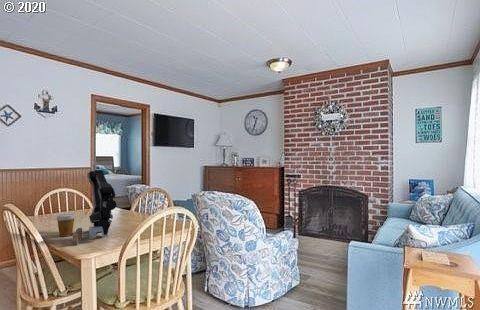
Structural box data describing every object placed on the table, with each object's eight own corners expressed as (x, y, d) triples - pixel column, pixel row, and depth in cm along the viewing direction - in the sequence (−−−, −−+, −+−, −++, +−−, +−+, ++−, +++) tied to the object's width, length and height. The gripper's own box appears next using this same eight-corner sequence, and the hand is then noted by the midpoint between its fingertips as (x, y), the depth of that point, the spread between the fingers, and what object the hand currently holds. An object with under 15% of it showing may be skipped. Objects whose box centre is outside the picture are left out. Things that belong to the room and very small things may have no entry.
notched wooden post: (78, 238, 164) (78, 228, 164) (81, 238, 165) (82, 227, 165) (72, 245, 151) (72, 234, 151) (76, 245, 152) (77, 234, 152)
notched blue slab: (89, 237, 166) (89, 227, 166) (108, 236, 170) (108, 225, 170) (89, 238, 164) (89, 228, 164) (108, 237, 167) (108, 226, 167)
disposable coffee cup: (78, 233, 175) (78, 213, 175) (69, 237, 165) (69, 217, 165) (62, 233, 175) (62, 213, 175) (52, 237, 165) (52, 217, 165)
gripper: (92, 205, 174) (92, 231, 174) (87, 211, 157) (87, 239, 157) (112, 204, 178) (112, 229, 178) (110, 210, 160) (109, 238, 160)
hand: (105, 234), depth 168 cm, fingers closed on notched blue slab, 2 cm apart
